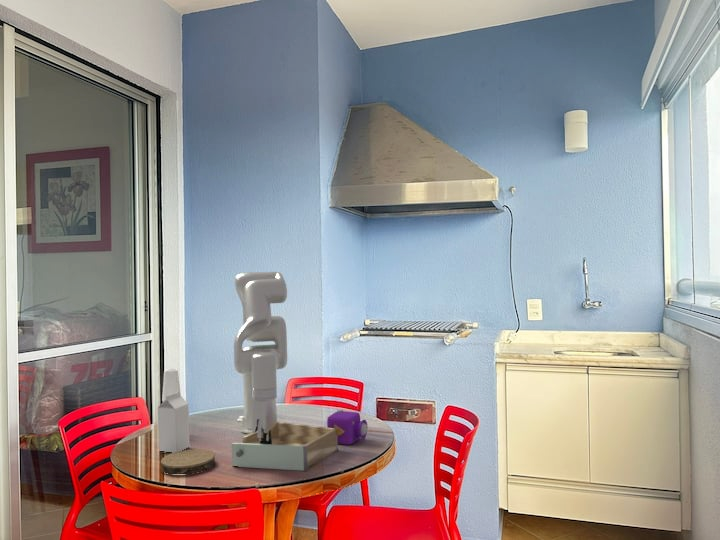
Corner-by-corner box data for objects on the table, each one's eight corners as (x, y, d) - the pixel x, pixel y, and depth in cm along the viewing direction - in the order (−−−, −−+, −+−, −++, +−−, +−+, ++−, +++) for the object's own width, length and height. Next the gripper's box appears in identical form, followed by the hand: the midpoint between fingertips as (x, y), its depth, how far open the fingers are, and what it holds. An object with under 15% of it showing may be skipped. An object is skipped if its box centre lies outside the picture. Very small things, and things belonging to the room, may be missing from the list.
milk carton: (189, 447, 189) (188, 392, 189) (176, 454, 183) (174, 396, 183) (172, 445, 192) (170, 391, 192) (158, 452, 185) (157, 395, 185)
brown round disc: (163, 480, 161) (163, 469, 161) (159, 463, 175) (159, 454, 175) (219, 470, 167) (218, 460, 167) (210, 455, 182) (210, 446, 182)
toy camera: (365, 447, 184) (364, 417, 184) (325, 445, 187) (324, 416, 187) (371, 437, 195) (370, 409, 195) (333, 436, 198) (332, 408, 198)
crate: (243, 459, 176) (242, 437, 176) (277, 441, 193) (277, 421, 193) (307, 469, 165) (306, 446, 165) (338, 450, 182) (337, 428, 182)
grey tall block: (167, 438, 200) (165, 372, 200) (160, 434, 205) (158, 370, 205) (185, 434, 205) (183, 369, 205) (177, 430, 210) (175, 367, 210)
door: (230, 468, 168) (229, 445, 168) (234, 465, 170) (233, 442, 170) (305, 472, 162) (304, 448, 162) (308, 469, 165) (307, 446, 165)
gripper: (261, 387, 178) (263, 444, 178) (243, 398, 163) (245, 460, 164) (284, 388, 177) (285, 445, 177) (267, 399, 162) (269, 461, 162)
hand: (266, 452), depth 170 cm, fingers closed
